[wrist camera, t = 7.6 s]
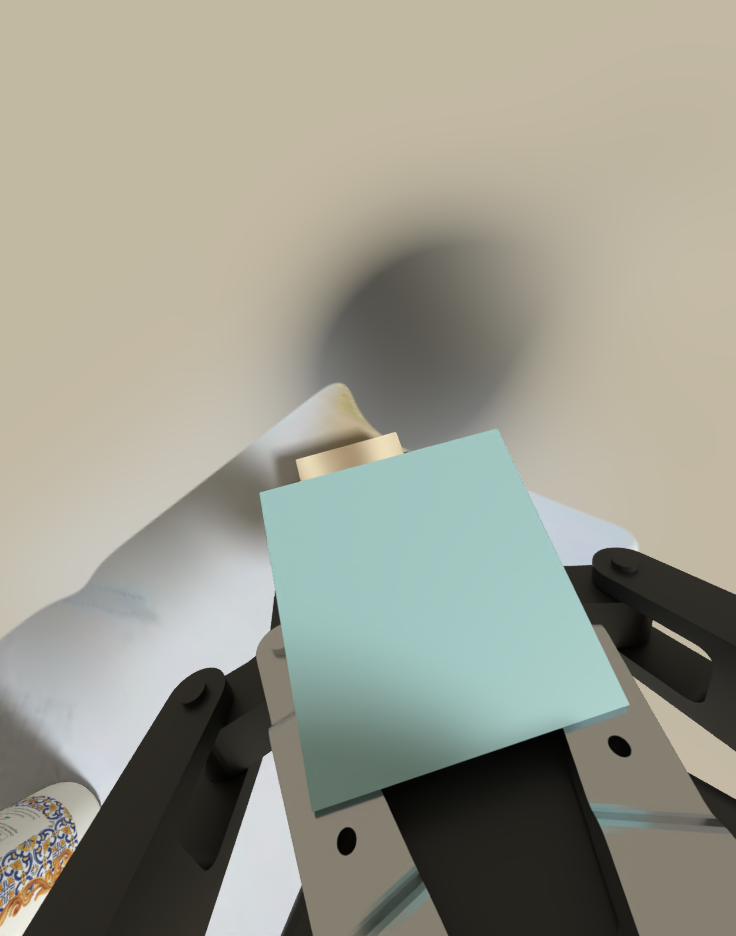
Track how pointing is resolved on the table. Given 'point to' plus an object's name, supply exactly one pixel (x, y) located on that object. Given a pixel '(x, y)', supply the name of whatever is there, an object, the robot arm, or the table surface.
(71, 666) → the table surface
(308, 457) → the base block
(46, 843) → the bath foam
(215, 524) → the table surface
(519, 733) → the pillar
